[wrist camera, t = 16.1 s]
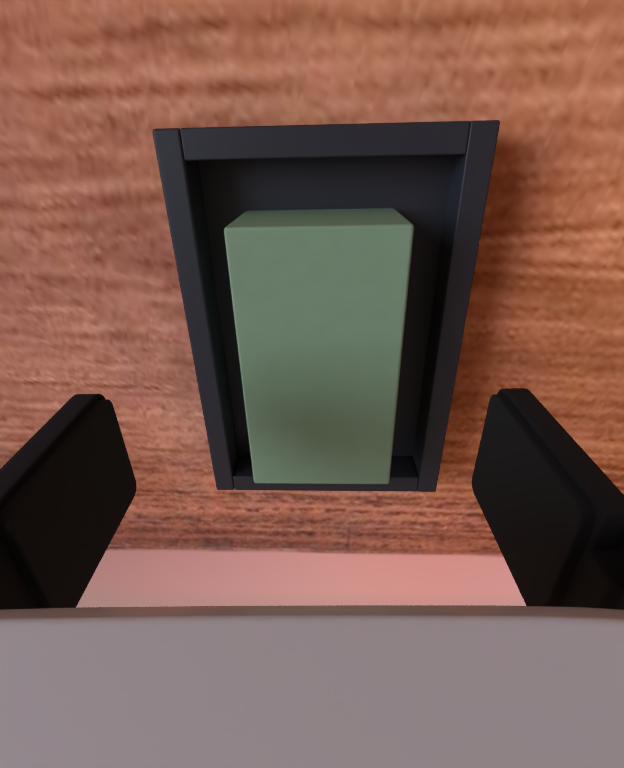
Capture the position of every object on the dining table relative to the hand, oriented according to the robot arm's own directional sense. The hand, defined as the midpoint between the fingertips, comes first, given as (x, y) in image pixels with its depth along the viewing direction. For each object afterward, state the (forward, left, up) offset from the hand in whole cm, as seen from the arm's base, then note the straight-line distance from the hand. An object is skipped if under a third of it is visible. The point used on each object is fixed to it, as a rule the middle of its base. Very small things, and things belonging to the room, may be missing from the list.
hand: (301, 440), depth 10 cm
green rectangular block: (0, 0, -7) cm, 7 cm away
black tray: (+1, 0, -7) cm, 7 cm away
